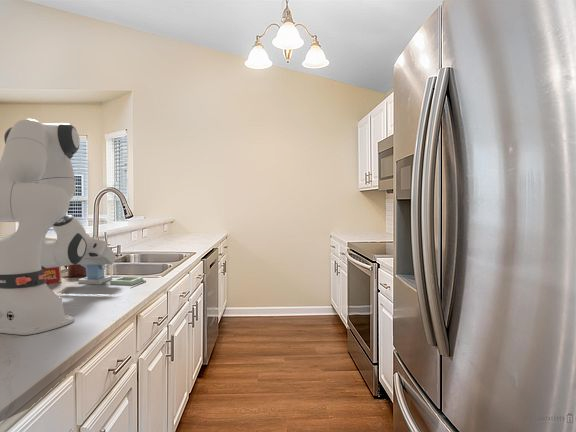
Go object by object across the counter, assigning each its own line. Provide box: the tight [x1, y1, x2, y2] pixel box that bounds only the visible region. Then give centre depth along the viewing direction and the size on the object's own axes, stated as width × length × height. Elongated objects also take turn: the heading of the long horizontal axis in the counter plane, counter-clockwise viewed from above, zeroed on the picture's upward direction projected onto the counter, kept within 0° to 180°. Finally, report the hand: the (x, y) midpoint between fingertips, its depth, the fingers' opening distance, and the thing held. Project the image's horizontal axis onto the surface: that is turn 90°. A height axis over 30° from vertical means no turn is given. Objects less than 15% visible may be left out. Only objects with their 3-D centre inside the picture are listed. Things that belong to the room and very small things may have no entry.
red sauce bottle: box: [43, 237, 63, 285], centre depth 160 cm, size 9×9×20 cm
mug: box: [63, 264, 87, 278], centre depth 174 cm, size 12×9×10 cm
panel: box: [75, 275, 147, 289], centre depth 160 cm, size 24×12×2 cm, turn 81°
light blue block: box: [86, 264, 105, 280], centre depth 161 cm, size 4×4×11 cm
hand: (96, 268), depth 162 cm, fingers closed on light blue block, 4 cm apart
